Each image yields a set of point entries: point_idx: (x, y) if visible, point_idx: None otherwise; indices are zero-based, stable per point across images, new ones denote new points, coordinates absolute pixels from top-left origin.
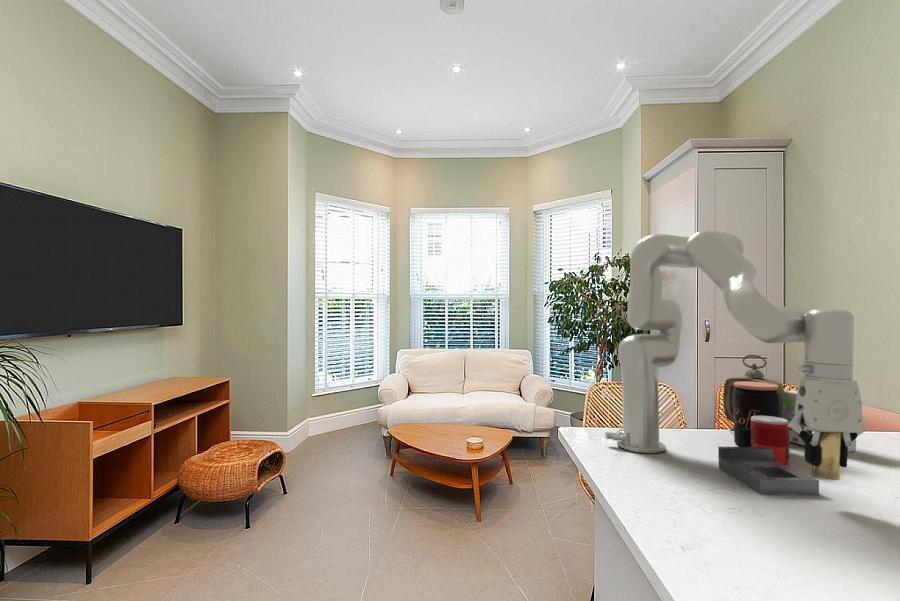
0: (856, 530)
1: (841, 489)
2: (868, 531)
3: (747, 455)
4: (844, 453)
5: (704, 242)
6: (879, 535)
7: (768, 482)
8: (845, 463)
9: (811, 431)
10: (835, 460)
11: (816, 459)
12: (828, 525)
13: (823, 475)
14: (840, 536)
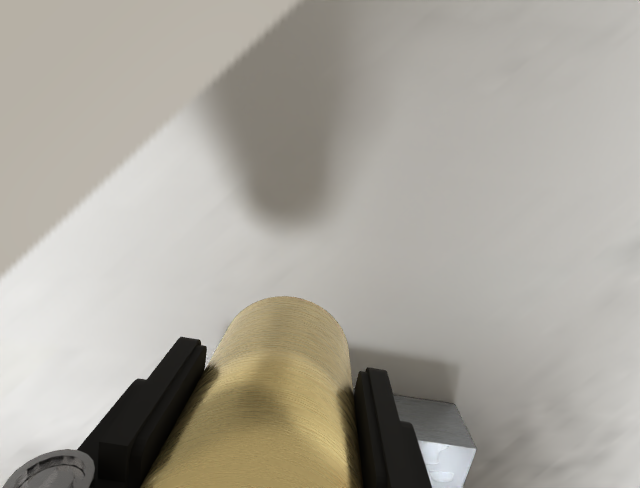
0: (408, 61)
1: (96, 405)
2: (368, 45)
3: None
4: (157, 401)
5: None
6: (361, 2)
7: (437, 434)
8: (181, 350)
9: None
10: (275, 358)
11: (391, 402)
12: (474, 121)
13: (338, 330)
14: (533, 18)
